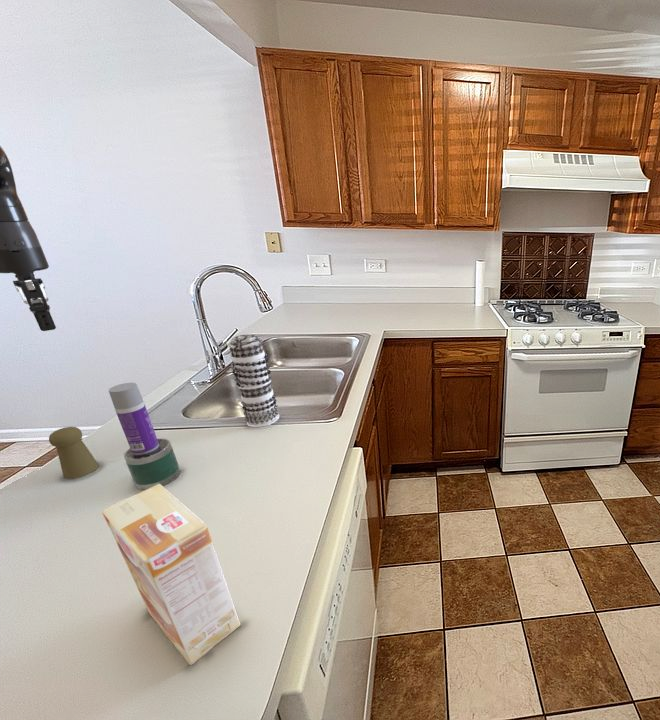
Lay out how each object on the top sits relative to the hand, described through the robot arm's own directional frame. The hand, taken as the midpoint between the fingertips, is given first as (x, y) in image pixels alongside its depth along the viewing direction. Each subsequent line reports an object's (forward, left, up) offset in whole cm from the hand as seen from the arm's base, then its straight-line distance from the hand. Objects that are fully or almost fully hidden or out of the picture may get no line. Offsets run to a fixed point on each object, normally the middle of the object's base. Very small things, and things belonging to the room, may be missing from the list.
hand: (46, 326), depth 83 cm
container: (+16, -10, -26) cm, 32 cm away
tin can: (+16, -10, -34) cm, 39 cm away
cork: (-3, -3, -34) cm, 35 cm away
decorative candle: (+32, +13, -34) cm, 49 cm away
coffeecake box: (+38, -48, -34) cm, 70 cm away
